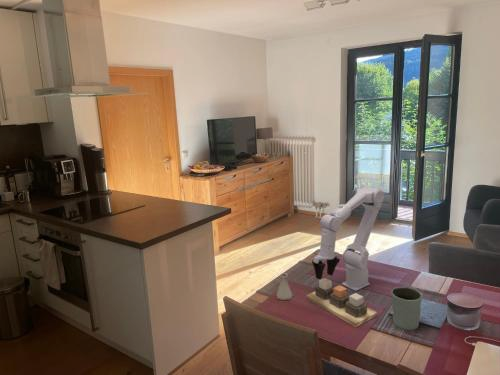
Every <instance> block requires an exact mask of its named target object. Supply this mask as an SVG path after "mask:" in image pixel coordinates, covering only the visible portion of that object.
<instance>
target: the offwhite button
mask: <svg viewBox="0 0 500 375" xmlns="http://www.w3.org/2000/svg"><path fill="white" fill-rule="evenodd" d="M332 283H333V281H332V280H330V279H329V278H326V277H324V278H321V279H318V285H319V287H320V288H321V289H323V290H325V291H326V290H328V289H330V288H332V286H333V284H332Z"/></svg>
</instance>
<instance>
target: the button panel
mask: <svg viewBox="0 0 500 375" xmlns="http://www.w3.org/2000/svg"><path fill="white" fill-rule="evenodd" d="M335 287H336V286H333V285H332V288H330V289H328V290H326V291H325V290H323V289H321V288H320V287H319V284H318V285H316V286H315V287H314V288H315V289H314V290H315V291H313V292H310V293H308V294H306V295H305V298H306V300H308V301H310V302H312V303H314V304H315V305H317V306H319V307H320V308H322V309H323V310H325V311H327V312H329V313H330V314H332V315H334V316H335V317H336V318H339V319H341V320H342V321H344V322H345V323H347V324H349V325H351V326H352V327H354V328H358V327H359V326H361V325H363V324H365V323H366V322H368V321H371V320H372V319H374V318H376V317H377V316H378V312H377V311H376V310H374V309H372V308H370V307H368V303H367V302H365V301H363V304H362V305H360V306H358V307H355V306H353V305H351V304H350V303H349V296H351V295H352V294H351V295H350V294H349V293H347V296H345V297H343V298H341V299H340V298H338V297H336V296H335V295H333V288H335Z"/></svg>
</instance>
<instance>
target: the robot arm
mask: <svg viewBox="0 0 500 375" xmlns="http://www.w3.org/2000/svg"><path fill="white" fill-rule="evenodd" d="M384 200H385V196H384V192H383V190H382V189H380V188H373V187H369V186H365V185H361V186H360V187H358V188H357V189H356V191H355V194H354V196H352V197H351V198H350V199H349V200H348V201H347V202H346V203H345V204H343V203H342V204H339V205H337V207H336V208H335V209H334V210H332V211H331V212H330V213H328V214H325V215H322V217H321V218H320V221H319V226H320V231H321V239H320V247H319V252H317V255H316V256H314V257H313V258H312V260H311V264H312V266H313V269H314V273H315V278H316V279H318V280H322V279H323V273H324V270H325V268H326V267H327V268H326V271H327V272H326V274H327V275H329V276H333V274H334V272H335V269H336V267H337V265H338V263H340V258H339V257H340V253H339V252H338V251H335V249H336V241H337V240H336V239H337V231H339V230H340V228H341V226H342V225H343V222H344V221H345V220H347V219H348V218H349V217H350V216H351V214H352V211H353V210H354V209H356V208H357V207H359V206H360V205H362V206H363V207H364V212H363V215H362V218H361V220H360V224H359V226H358V229H357V232H356V235H355V238H354V240H353V242H352V243H350V244H348V245H347V246H346V248H345V250H344V251H343V253H342V254H341V255H342V261H343V262H344V265H345V266H346V268H345V269H346V270H345V277H346V278H345V281H344V282H342V283H341V286H342V285H343V287H345V288H349V289H350V290H353V291H355V292H357V291H358V290H359V291H360V289H363V288H366V286H367V287H368V286H369V285H370V282H369V269H368V266H367V265H368V263H369V255H370V253H369V251H368V250H367V248H366V247H367V244H368V241H369V239H370V236H371V233H372V230H373V228H374V224H375V222H376V218H377V215H378V214H379V211H380V210H381V208H382V205H383V202H384ZM323 261H326V263H323Z"/></svg>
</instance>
